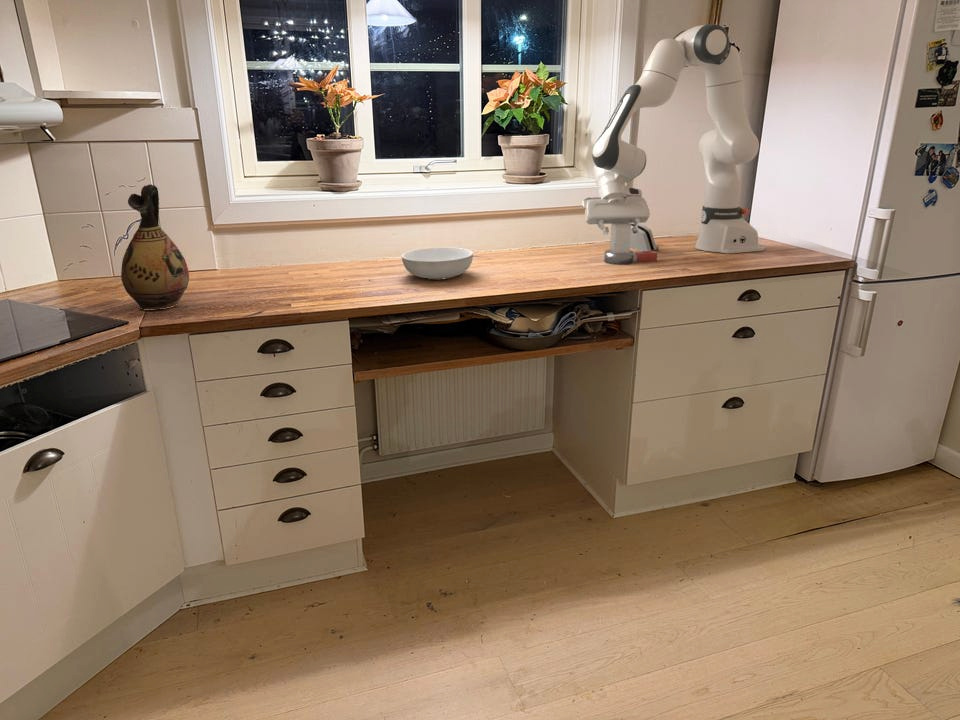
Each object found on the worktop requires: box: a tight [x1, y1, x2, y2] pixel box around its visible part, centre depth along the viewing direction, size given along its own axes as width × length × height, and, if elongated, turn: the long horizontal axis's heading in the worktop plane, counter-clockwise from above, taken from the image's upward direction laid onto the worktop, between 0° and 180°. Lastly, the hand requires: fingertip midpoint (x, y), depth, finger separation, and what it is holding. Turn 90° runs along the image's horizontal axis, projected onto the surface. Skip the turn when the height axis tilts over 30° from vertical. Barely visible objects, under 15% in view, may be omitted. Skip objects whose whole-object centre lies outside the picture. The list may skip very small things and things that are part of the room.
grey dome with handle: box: [603, 249, 659, 265], centre depth 215 cm, size 16×9×8 cm, turn 97°
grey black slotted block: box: [629, 223, 660, 252], centre depth 234 cm, size 17×5×10 cm, turn 29°
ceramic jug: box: [120, 183, 190, 309], centre depth 169 cm, size 17×15×30 cm
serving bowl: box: [401, 246, 474, 280], centre depth 199 cm, size 21×21×7 cm
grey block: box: [609, 222, 631, 254], centre depth 213 cm, size 5×5×9 cm
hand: (620, 232), depth 212 cm, fingers open, 8 cm apart
